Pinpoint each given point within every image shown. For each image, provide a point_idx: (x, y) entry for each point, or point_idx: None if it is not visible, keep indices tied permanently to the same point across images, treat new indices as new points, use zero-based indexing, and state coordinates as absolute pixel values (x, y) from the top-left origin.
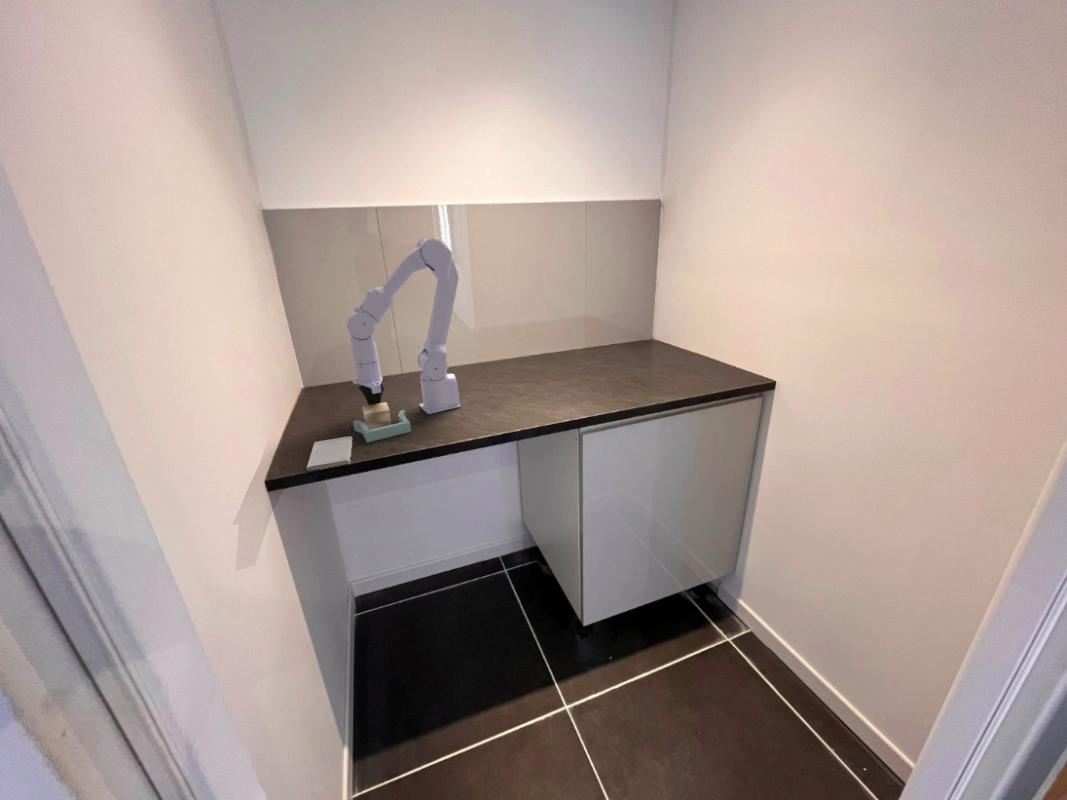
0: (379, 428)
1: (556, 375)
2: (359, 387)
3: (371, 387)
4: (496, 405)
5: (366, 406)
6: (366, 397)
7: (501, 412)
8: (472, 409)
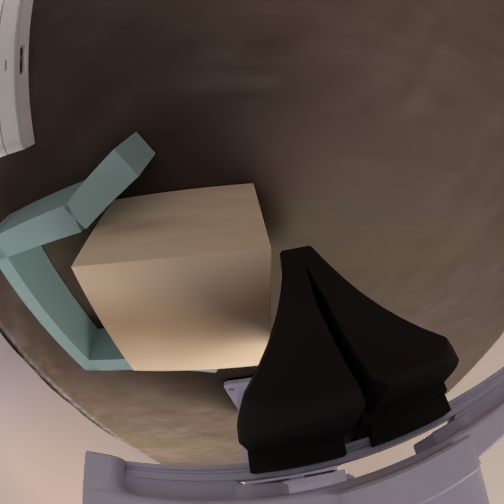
0: (24, 292)
1: None
2: (422, 374)
3: (91, 499)
4: (223, 436)
5: (243, 279)
6: (265, 353)
7: (184, 436)
8: (219, 422)
